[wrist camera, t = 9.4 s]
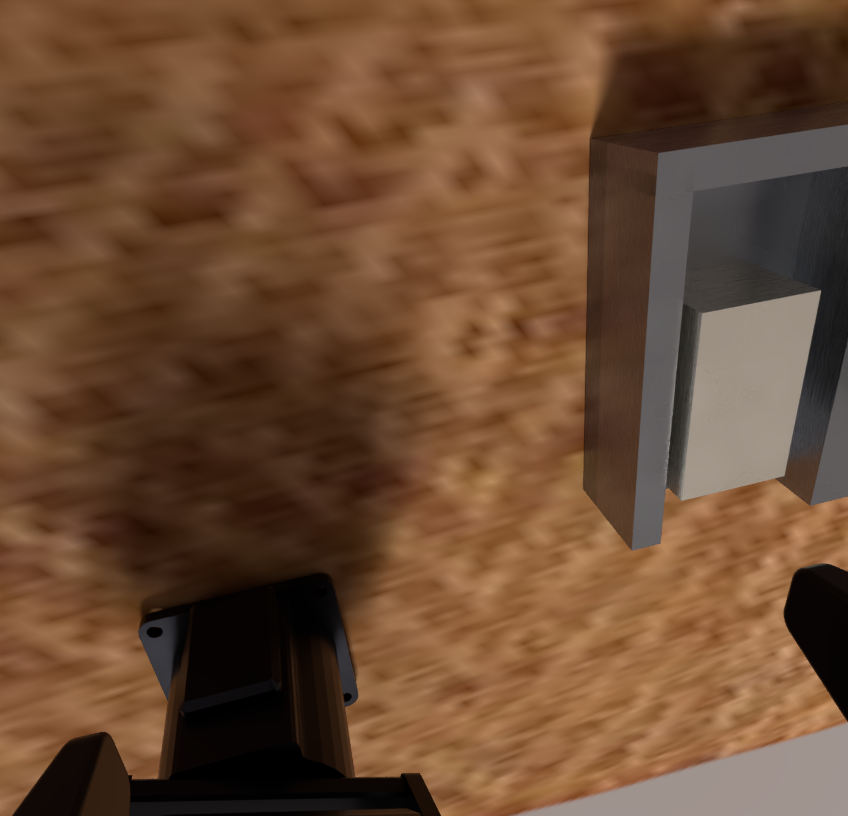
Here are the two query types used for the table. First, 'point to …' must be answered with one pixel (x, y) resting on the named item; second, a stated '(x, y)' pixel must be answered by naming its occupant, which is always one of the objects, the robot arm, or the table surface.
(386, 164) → the table surface
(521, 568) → the table surface
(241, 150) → the table surface
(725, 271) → the gray compartment tray
